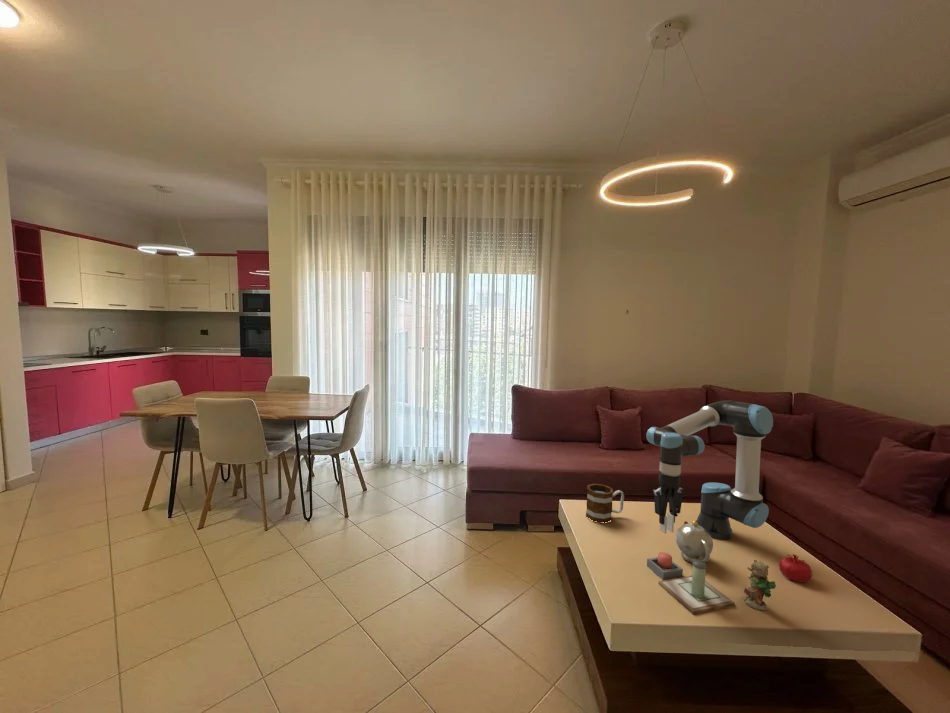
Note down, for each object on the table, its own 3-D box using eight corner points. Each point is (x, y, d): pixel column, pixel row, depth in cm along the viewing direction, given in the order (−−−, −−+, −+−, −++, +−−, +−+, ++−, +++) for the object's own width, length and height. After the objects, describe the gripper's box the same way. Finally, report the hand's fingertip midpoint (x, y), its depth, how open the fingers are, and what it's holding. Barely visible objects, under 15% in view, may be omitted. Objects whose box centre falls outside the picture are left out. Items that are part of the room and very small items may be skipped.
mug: (590, 524, 188) (592, 494, 187) (581, 511, 201) (582, 483, 200) (629, 523, 189) (630, 494, 189) (616, 510, 203) (618, 483, 202)
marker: (697, 590, 138) (699, 558, 137) (707, 598, 134) (709, 565, 133) (688, 592, 137) (689, 560, 136) (697, 600, 133) (699, 567, 132)
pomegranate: (816, 589, 143) (818, 565, 142) (783, 582, 146) (786, 559, 146) (804, 573, 152) (806, 551, 152) (773, 566, 156) (776, 545, 155)
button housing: (665, 563, 157) (665, 556, 157) (682, 576, 148) (682, 569, 148) (646, 566, 154) (647, 558, 154) (663, 580, 146) (663, 572, 146)
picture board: (697, 577, 148) (697, 573, 148) (734, 605, 133) (735, 602, 133) (658, 583, 143) (658, 580, 143) (692, 614, 128) (692, 610, 128)
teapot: (667, 548, 168) (670, 512, 167) (699, 549, 168) (701, 513, 167) (690, 573, 150) (692, 533, 149) (725, 575, 150) (727, 534, 149)
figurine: (737, 597, 137) (740, 557, 136) (757, 596, 138) (760, 556, 137) (758, 616, 128) (761, 573, 127) (779, 615, 129) (782, 572, 128)
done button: (665, 561, 154) (665, 551, 154) (674, 568, 149) (675, 558, 149) (654, 562, 153) (655, 553, 153) (663, 570, 148) (664, 560, 148)
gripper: (678, 468, 154) (675, 524, 156) (646, 470, 150) (643, 528, 152) (693, 474, 147) (690, 533, 149) (660, 478, 143) (656, 538, 145)
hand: (666, 531), depth 150 cm, fingers open, 3 cm apart
